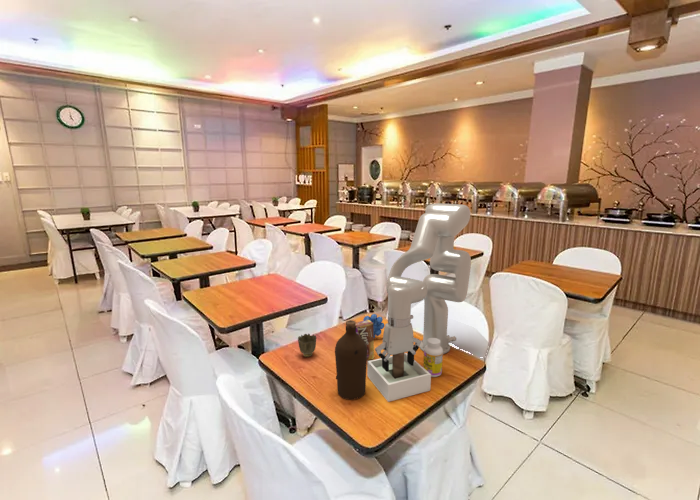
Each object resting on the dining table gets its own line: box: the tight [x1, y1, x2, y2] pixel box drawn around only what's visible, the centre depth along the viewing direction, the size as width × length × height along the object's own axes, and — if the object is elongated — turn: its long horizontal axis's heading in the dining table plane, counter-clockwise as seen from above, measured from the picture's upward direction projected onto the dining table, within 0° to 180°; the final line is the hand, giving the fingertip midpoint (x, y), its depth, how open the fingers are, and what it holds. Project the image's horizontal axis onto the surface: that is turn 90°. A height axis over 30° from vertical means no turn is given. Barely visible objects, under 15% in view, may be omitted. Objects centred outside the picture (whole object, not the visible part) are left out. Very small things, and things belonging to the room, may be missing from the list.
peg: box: [391, 352, 405, 379], centre depth 124 cm, size 4×4×12 cm
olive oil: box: [334, 319, 367, 401], centre depth 118 cm, size 11×11×25 cm
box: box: [366, 352, 432, 403], centre depth 124 cm, size 16×16×6 cm
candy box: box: [355, 320, 375, 361], centre depth 140 cm, size 9×4×15 cm, turn 116°
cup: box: [297, 333, 317, 358], centre depth 144 cm, size 8×7×8 cm
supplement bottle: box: [422, 338, 444, 378], centre depth 130 cm, size 7×7×13 cm
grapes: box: [362, 313, 385, 339], centre depth 158 cm, size 12×7×12 cm, turn 93°
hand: (398, 366), depth 124 cm, fingers open, 9 cm apart
